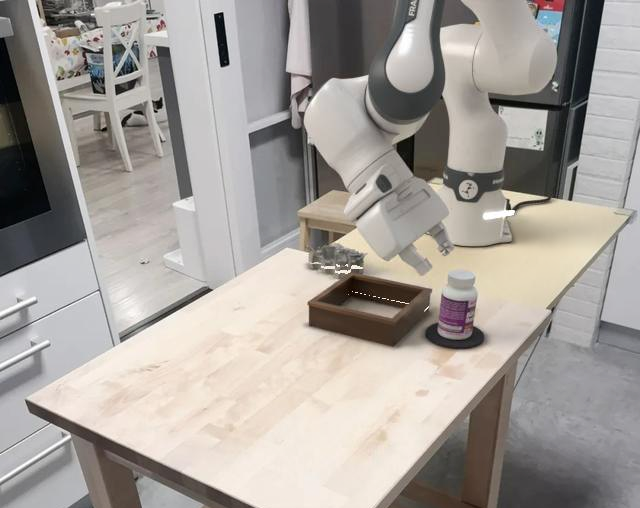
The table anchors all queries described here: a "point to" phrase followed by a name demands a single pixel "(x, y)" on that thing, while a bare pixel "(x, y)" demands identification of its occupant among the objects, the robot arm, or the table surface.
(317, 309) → the wooden square frame
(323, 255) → the egg carton
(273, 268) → the table surface
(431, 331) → the coaster
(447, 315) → the pill bottle
